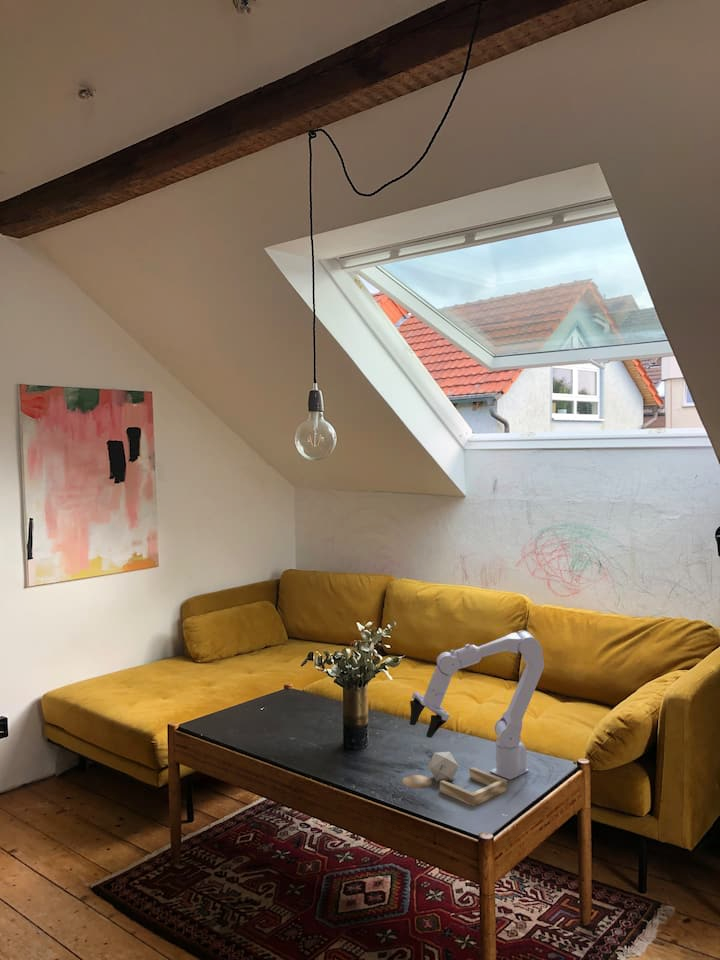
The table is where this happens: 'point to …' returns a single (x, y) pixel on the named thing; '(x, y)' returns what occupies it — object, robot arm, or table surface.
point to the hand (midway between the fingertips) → (420, 730)
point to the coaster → (417, 781)
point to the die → (443, 766)
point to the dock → (477, 797)
